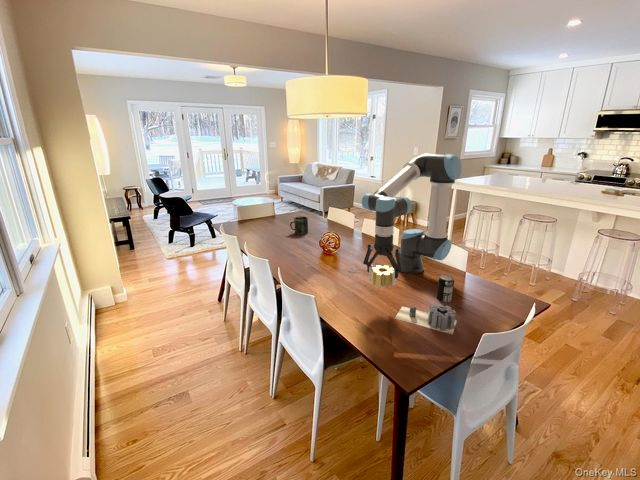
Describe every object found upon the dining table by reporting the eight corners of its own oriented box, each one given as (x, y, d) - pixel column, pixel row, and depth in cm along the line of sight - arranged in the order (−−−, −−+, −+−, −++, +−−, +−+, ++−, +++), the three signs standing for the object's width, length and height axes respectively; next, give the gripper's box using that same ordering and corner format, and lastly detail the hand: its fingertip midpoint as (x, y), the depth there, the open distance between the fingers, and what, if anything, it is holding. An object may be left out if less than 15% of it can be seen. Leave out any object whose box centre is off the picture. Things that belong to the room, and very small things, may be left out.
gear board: (402, 308, 143) (402, 298, 141) (456, 322, 132) (458, 311, 130) (394, 320, 134) (395, 310, 132) (452, 337, 123) (453, 325, 121)
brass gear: (375, 275, 147) (376, 263, 145) (396, 279, 142) (397, 267, 140) (367, 284, 139) (367, 272, 137) (389, 289, 134) (390, 276, 132)
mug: (310, 233, 248) (310, 218, 244) (292, 236, 243) (292, 221, 239) (305, 230, 257) (305, 215, 253) (288, 232, 252) (287, 217, 248)
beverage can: (439, 295, 154) (442, 273, 150) (453, 299, 150) (456, 276, 146) (434, 301, 149) (437, 277, 145) (448, 305, 145) (451, 281, 141)
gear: (425, 315, 135) (427, 301, 133) (450, 317, 134) (452, 302, 131) (430, 329, 126) (431, 314, 123) (456, 331, 124) (458, 316, 122)
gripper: (355, 233, 135) (355, 279, 143) (408, 241, 125) (405, 291, 132) (362, 228, 142) (361, 273, 149) (413, 235, 131) (410, 283, 138)
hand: (382, 281), depth 141 cm, fingers closed on brass gear, 10 cm apart
